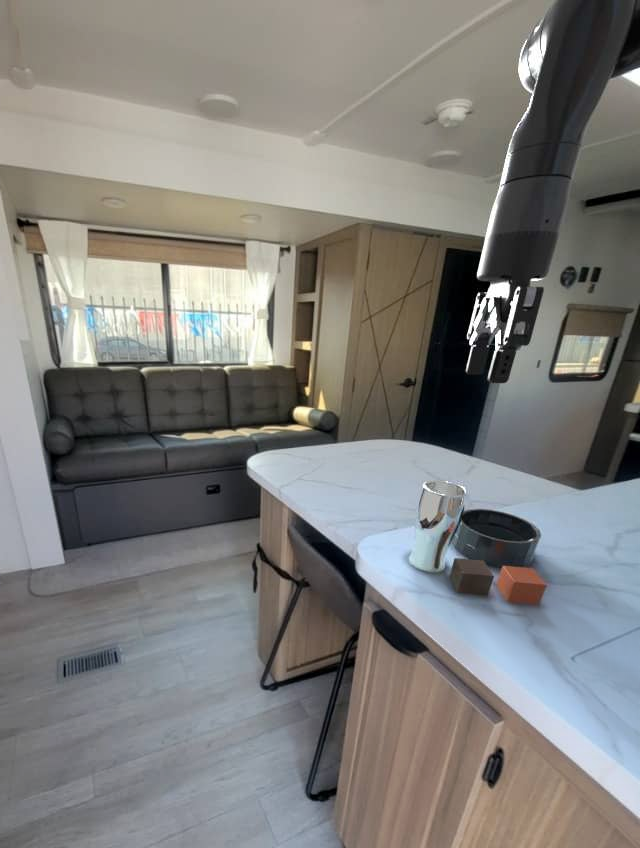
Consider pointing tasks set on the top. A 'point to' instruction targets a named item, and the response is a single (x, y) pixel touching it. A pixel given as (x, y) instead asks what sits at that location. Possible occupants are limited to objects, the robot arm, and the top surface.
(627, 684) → the top surface
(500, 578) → the terracotta block
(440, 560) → the beer glass
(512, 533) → the shallow dark bowl
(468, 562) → the walnut block
